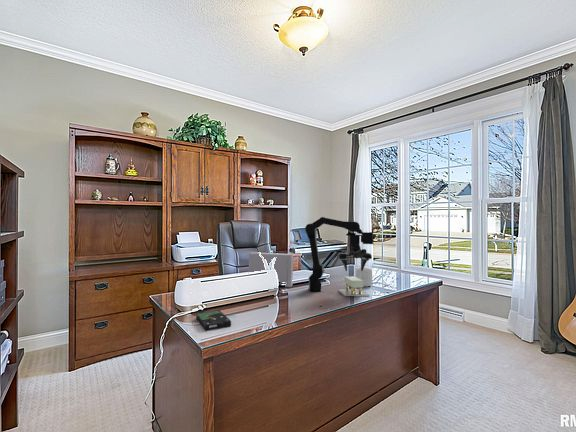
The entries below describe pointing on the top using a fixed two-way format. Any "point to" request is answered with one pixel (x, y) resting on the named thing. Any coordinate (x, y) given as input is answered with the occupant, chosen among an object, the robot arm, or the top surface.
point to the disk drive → (213, 320)
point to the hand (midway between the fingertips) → (354, 271)
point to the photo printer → (365, 275)
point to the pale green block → (354, 281)
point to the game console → (281, 265)
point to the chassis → (353, 291)
